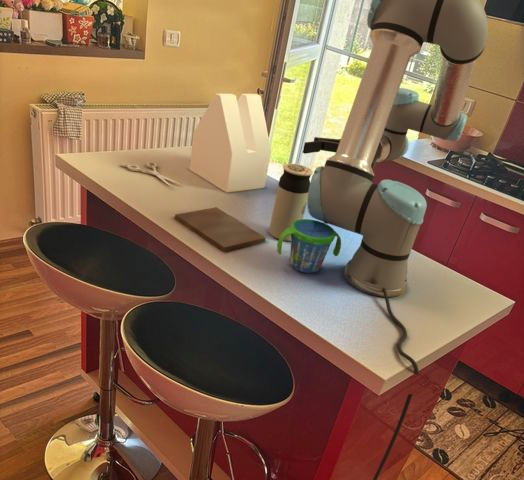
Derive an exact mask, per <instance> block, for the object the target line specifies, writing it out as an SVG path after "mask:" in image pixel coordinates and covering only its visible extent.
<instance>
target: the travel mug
mask: <svg viewBox="0 0 524 480" xmlns="http://www.w3.org/2000/svg"><path fill="white" fill-rule="evenodd" d="M282 169H283V174H281V176H280V177H279V181H278V186H277V190H276V195H275V201H274V206H273V209H272V214H271V215H272V216H271V220H270V226H269V230H268V233H269V234H270V235H271V236H272V237H274V238H276V239H277V240H279V238H280V236H281V235H282V233H283V232H284V231H285V230H286V229H288V228H290V227H291V225H292V223H293V222H294V221H296V220H300V219H304V215H305V211H306V207H307V204H308V192H309V186H310V182H311V177H312V176H313V174H314V171H313V170H312V169H311V168H309V167H308V166H306V165H304V164H303V165H302V164H298V163H285V164H283V166H282ZM283 241H285V242H291V234H289V235H288V236H287V237H286V238H284V239H283Z"/></svg>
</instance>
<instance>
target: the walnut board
mask: <svg viewBox="0 0 524 480" xmlns="http://www.w3.org/2000/svg"><path fill="white" fill-rule="evenodd" d="M174 219H175V220H176V221H178V222H179V223H180V224H181V225H183V226H185V227H186V228H188V229H189V230H191V231H192V232H194V233H195V234H197V235H198V236H199V237H202V238H203V239H204V240H206V241H207V242H209V243H210V244H212V245H213V246H214V247H215V248H217V249H219V250H221V251H222V252H223V253H224V252H228V251H233V250H236V249H237V250H238V249H242V248H245V247H249V246H254V245H257V244H261V243H264V242H266V236H264V235H262V234H261V233H259V232H257V231H256V230H254V229H252V228H251V227H249V226H248V225H246V224H244V223H243V222H241V221H240V220H238V219H236V218H234V217H233V216H232V215H230V214H228V213H227V212H225V211H223V210H222V209H220V208H219V207H217V206H214V207H209V208H203V209H198V210H192V211H187V212H182V213H175V214H174Z"/></svg>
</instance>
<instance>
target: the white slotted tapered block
mask: <svg viewBox="0 0 524 480" xmlns="http://www.w3.org/2000/svg"><path fill="white" fill-rule="evenodd" d="M203 113H204V114H203V115H202V116H201V118H200V119H199V122H198V124H197V125H196V127H195V129H194V131H193V133H192V143H191V153H190V161H189V170H190V171H191V172H193V173H194V174H196V175H197V176H199V177H201V178H202V179H204V180H206V182H209V183H211V184H212V185H214V186H215V187H217V188H219V190H222V191H223V192H225V193H234V192H243V191H250V190H256V189H263V188H266V180H267V175H268V172H269V171H268V170H269V165H270V159H271V154H272V148H271V143H270V138H269V132H268V126H267V121H266V117H265V111H264V106H263V101H262V96H261V95H260V94H258V93H241V94H240V96H239V97H238V98H237V95H236V94H233V93H215V95H214V96H213V98H212V99H211V101H210V103H209V105H208V107H207V108H206V110H205V112H203Z"/></svg>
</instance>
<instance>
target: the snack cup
mask: <svg viewBox="0 0 524 480" xmlns="http://www.w3.org/2000/svg"><path fill="white" fill-rule="evenodd" d="M289 234H291V241H290V253H289V264H290V266H291V267H293V269H295V270H297V271H299V272H301V273H305V274H310V273H317V272H318V271H319V270H320V269H321V267H322V265H323V263H324V261H325V259H326V255H327V254H328V251H329V249H330V246H331V245H332V243H333V242H334V241H335V238H336V242H335V246H334V248H333V251H332V254H333V256H334V257H338V256H339V254H340V252H341V248H342V239H341V236H340V235H339V234H338V232H337V231H336V230H335V229H334V228H333V227H332V226H330V224H326V223H324V222H323V221H320V220H317V219H311V218H303V219H300V220H296V221H294V222H293V223H292V225H291V227H290V228H288V229H286V230H285V231H284V232H283V233H282V235H281V236H280V238H279V239H277V243H276V249H277V253H278V255H282V248H283V241H284V240H283V239H284V238H286V237H287V236H288V235H289Z"/></svg>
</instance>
